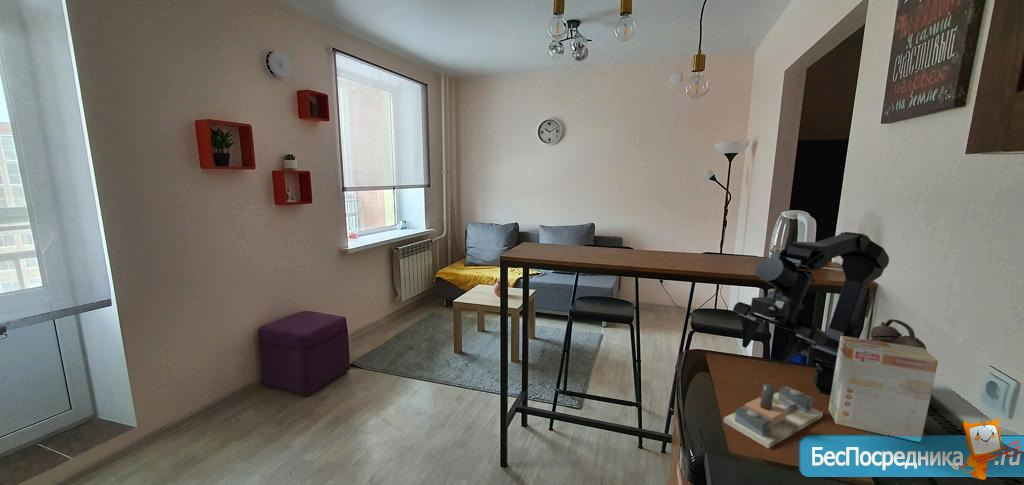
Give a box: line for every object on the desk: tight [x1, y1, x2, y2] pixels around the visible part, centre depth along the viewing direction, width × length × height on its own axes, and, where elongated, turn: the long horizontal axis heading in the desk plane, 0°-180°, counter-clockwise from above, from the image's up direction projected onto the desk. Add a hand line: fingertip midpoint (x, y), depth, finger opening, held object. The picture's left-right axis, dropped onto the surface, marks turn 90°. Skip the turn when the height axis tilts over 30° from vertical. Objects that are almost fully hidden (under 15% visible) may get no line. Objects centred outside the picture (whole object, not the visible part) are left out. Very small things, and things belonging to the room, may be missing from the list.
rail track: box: [723, 385, 824, 449], centre depth 92 cm, size 23×10×4 cm, turn 119°
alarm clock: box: [869, 318, 927, 350], centre depth 103 cm, size 15×7×20 cm, turn 168°
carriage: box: [744, 382, 787, 426], centre depth 90 cm, size 6×6×7 cm
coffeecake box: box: [828, 336, 939, 438], centre depth 89 cm, size 15×7×20 cm, turn 64°
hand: (762, 355), depth 92 cm, fingers open, 9 cm apart
